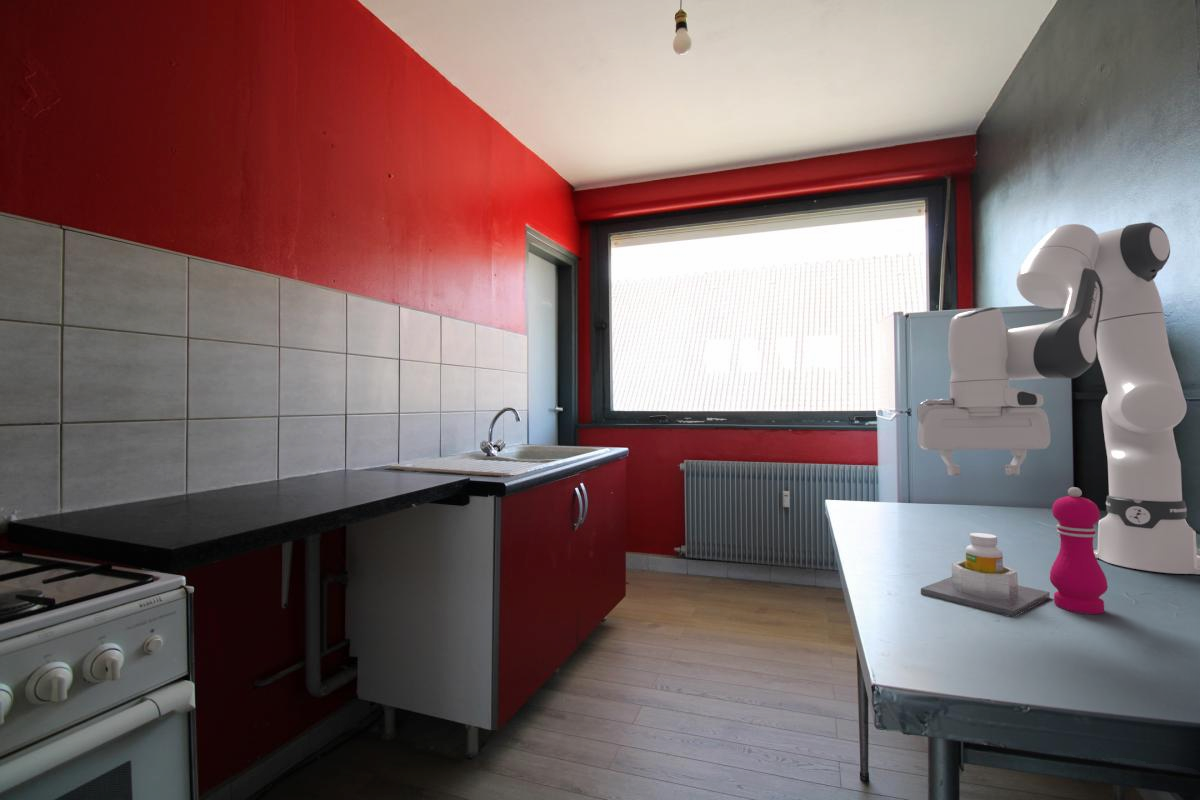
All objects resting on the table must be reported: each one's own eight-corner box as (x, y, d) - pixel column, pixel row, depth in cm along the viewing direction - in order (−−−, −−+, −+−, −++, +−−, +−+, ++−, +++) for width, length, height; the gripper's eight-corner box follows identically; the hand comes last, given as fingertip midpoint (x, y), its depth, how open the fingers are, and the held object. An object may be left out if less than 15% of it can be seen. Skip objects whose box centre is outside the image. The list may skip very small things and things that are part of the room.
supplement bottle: (960, 588, 97) (958, 534, 98) (976, 583, 100) (974, 530, 100) (994, 596, 93) (992, 539, 93) (1009, 591, 95) (1008, 536, 96)
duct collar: (960, 578, 107) (960, 552, 107) (1049, 597, 95) (1048, 569, 95) (920, 593, 98) (920, 565, 98) (1013, 617, 86) (1012, 585, 86)
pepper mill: (1120, 617, 86) (1115, 490, 86) (1067, 614, 87) (1063, 489, 88) (1089, 601, 93) (1084, 484, 94) (1041, 599, 94) (1037, 484, 95)
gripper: (923, 398, 96) (927, 477, 95) (1054, 395, 92) (1058, 477, 92) (909, 400, 102) (913, 473, 102) (1031, 397, 99) (1035, 473, 98)
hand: (983, 475), depth 97 cm, fingers open, 8 cm apart
